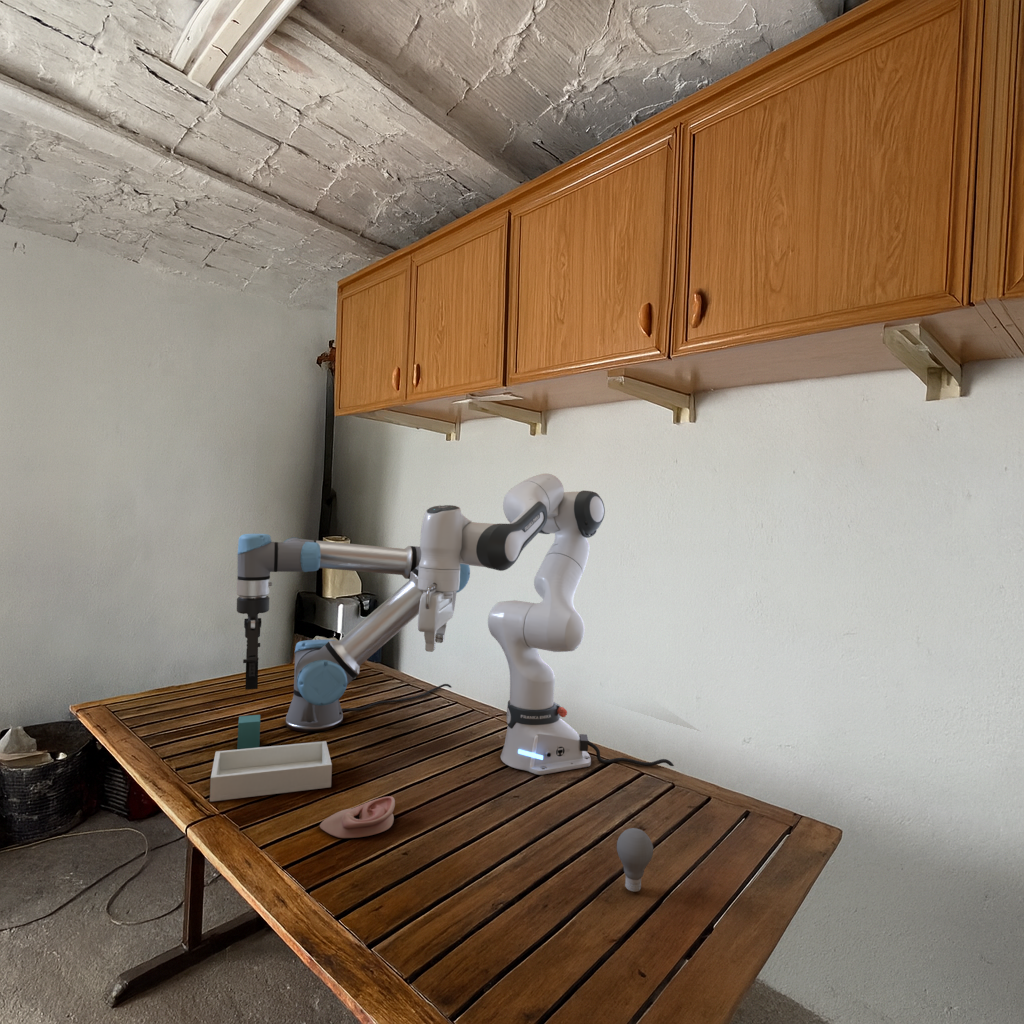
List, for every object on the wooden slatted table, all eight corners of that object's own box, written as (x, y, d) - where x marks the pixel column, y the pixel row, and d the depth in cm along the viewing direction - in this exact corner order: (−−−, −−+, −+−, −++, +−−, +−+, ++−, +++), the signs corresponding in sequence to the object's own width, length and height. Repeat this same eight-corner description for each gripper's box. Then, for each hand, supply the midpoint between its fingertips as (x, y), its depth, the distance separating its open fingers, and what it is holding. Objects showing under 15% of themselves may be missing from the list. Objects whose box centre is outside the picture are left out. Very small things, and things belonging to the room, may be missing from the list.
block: (238, 743, 160) (239, 716, 160) (259, 741, 161) (260, 714, 161) (237, 751, 155) (238, 723, 155) (259, 749, 157) (260, 721, 157)
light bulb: (610, 878, 109) (613, 821, 108) (645, 878, 109) (647, 821, 109) (619, 901, 103) (622, 840, 103) (655, 900, 103) (658, 839, 103)
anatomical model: (312, 812, 119) (340, 786, 130) (311, 833, 119) (340, 805, 130) (378, 823, 116) (401, 795, 127) (377, 844, 116) (401, 814, 127)
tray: (209, 801, 130) (210, 777, 129) (214, 773, 143) (215, 751, 142) (331, 787, 138) (332, 764, 138) (325, 761, 151) (326, 740, 151)
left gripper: (270, 603, 147) (268, 694, 148) (268, 588, 170) (266, 666, 171) (235, 605, 144) (233, 697, 145) (238, 589, 167) (236, 668, 168)
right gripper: (443, 587, 124) (439, 658, 124) (461, 577, 144) (457, 638, 144) (412, 585, 124) (408, 655, 124) (434, 576, 145) (430, 636, 145)
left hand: (251, 681), depth 158 cm, fingers open, 13 cm apart
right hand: (434, 646), depth 134 cm, fingers open, 8 cm apart
